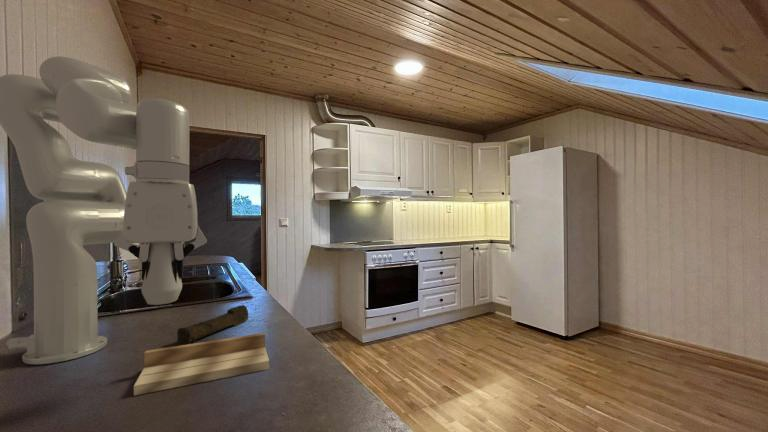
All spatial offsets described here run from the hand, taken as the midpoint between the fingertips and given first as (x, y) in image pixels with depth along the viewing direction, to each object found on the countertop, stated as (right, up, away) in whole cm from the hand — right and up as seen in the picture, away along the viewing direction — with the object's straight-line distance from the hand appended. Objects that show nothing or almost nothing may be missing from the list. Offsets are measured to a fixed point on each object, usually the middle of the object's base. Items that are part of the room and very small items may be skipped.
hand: (163, 282), depth 56 cm
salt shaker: (0, -3, 0) cm, 3 cm away
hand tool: (-3, -17, +24) cm, 30 cm away
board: (+6, -17, +4) cm, 18 cm away
